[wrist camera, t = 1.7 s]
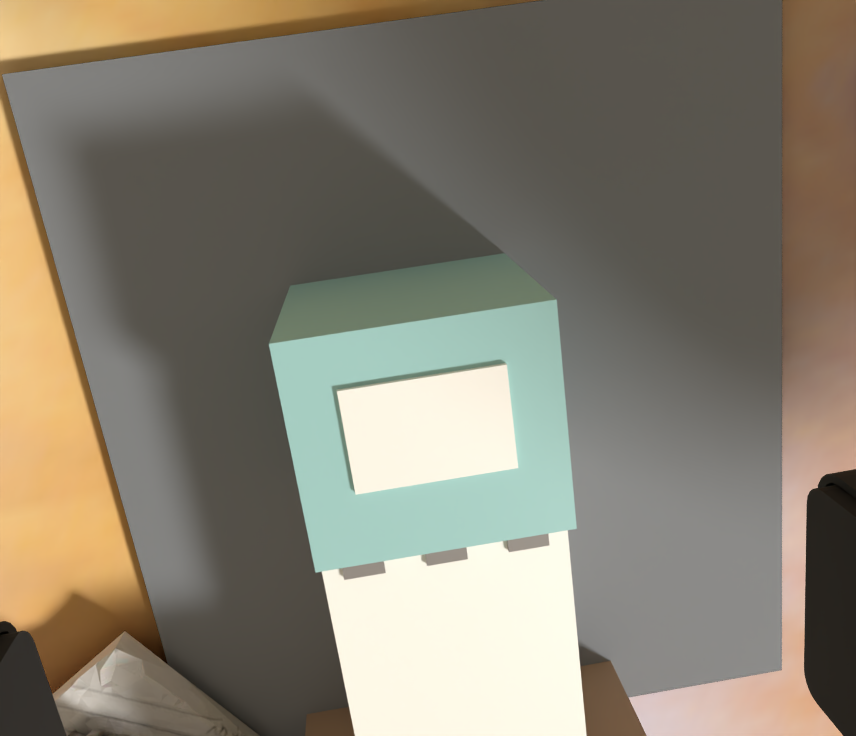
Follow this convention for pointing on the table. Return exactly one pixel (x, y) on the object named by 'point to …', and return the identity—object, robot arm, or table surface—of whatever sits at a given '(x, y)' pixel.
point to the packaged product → (139, 698)
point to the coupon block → (468, 647)
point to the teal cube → (424, 410)
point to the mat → (423, 245)
